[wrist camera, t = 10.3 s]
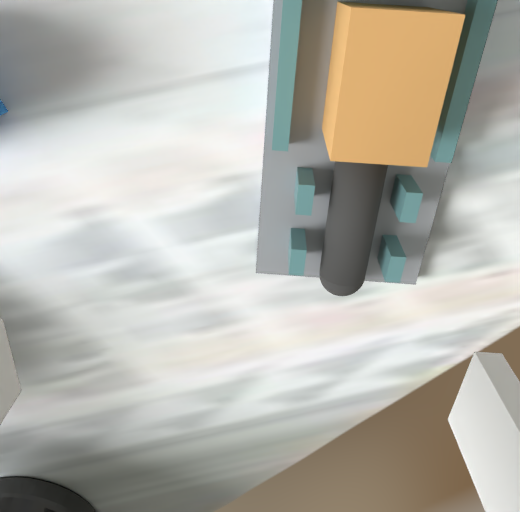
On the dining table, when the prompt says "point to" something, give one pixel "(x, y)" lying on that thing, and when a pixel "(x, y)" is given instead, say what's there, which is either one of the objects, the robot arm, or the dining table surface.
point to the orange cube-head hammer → (378, 118)
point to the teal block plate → (321, 168)
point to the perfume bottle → (2, 108)
